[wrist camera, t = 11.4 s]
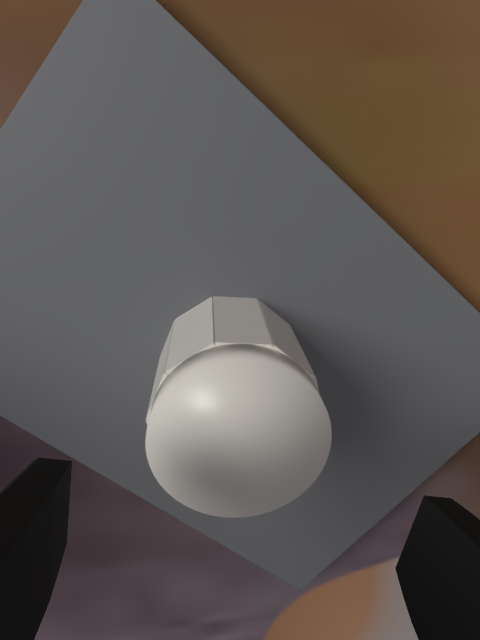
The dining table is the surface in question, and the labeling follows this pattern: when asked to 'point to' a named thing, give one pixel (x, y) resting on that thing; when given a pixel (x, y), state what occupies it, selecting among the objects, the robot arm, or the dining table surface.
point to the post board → (212, 280)
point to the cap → (235, 411)
